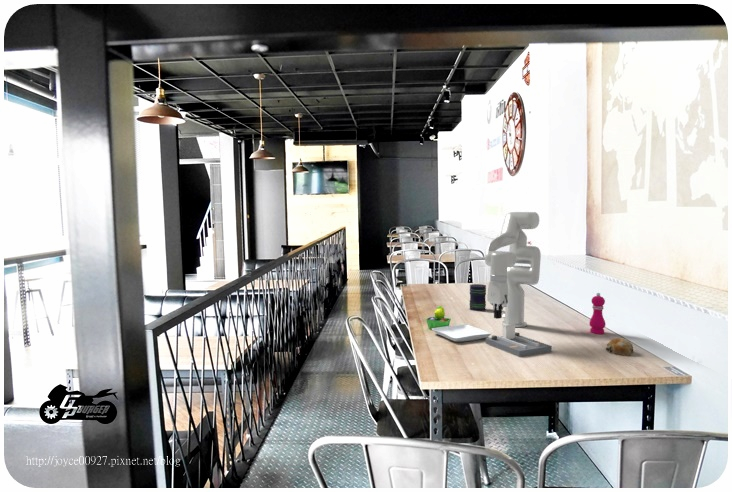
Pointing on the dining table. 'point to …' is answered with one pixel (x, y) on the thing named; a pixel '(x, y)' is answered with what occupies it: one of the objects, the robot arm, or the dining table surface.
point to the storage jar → (477, 297)
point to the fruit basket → (438, 319)
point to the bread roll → (620, 347)
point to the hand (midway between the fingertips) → (497, 318)
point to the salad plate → (461, 333)
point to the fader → (509, 330)
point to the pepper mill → (597, 315)
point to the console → (518, 345)
